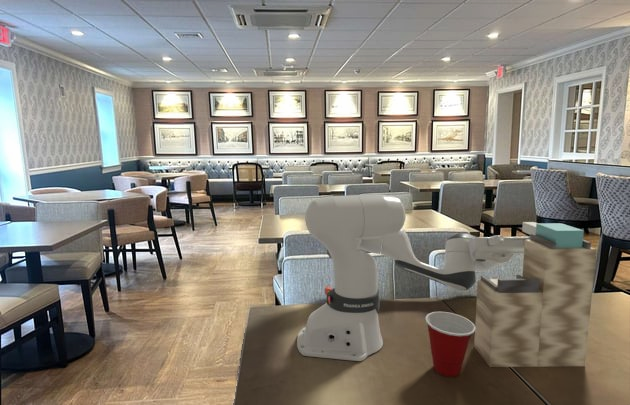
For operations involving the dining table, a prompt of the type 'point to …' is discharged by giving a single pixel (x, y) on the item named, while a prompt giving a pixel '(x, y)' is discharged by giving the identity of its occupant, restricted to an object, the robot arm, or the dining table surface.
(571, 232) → the plug
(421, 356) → the dining table surface
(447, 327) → the plastic cup
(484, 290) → the zigzag stepped block
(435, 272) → the robot arm
